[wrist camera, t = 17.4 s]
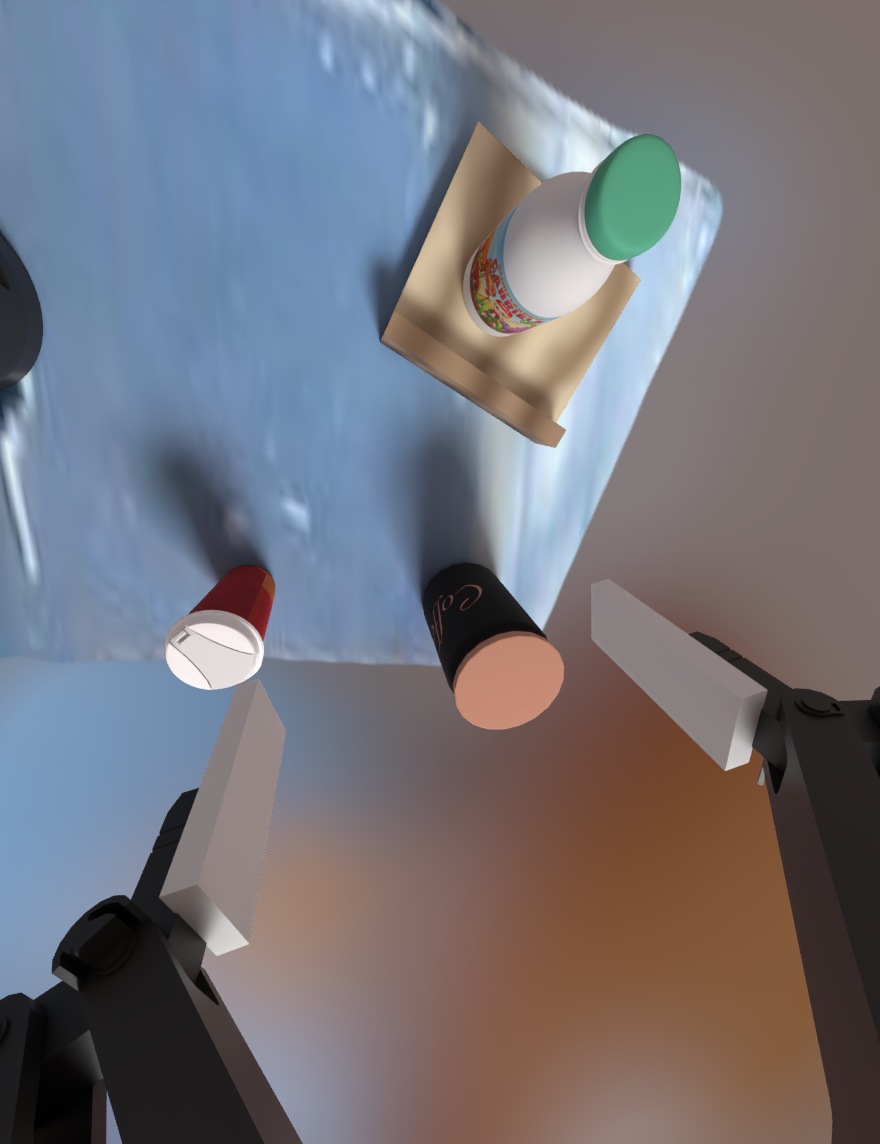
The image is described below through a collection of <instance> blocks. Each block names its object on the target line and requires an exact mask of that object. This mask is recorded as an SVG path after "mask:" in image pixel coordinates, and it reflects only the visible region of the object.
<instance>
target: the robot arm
mask: <svg viewBox="0 0 880 1144" xmlns="http://www.w3.org/2000/svg"><path fill="white" fill-rule="evenodd" d="M42 337H43V322H42V314H41V308H40V304H39V301H38V297H37V294H36V291H35V289H34V286H33V284H32V282H31V280H30V277H29V275H28V274H27V272H26V270H25V268H24V266H23V265H22V263H21V261H20V260H19V258H18V257H17V255H16V254H15V252H14V251H13V249H12V248H11V247H10V245H9V244H8V243H7V242H6V240H5V239H4V238H3V237H2V236H1V234H0V391H1V390H4V389H6V388H8V387H10V386H12V385H14V384H15V383H17V382H18V381H20V380H21V379H22V378H23V377H24V376H25V375H26V374H27V373H28V372H29V371H30V370H31V368H32V367H33V365H34V363H35V362H36V360H37V357H38V355H39V352H40V348H41V344H42ZM591 602H592V603H591V608H592V640H593V641H594V642H596V644H597V645H598V646H599V647H600V648H602V650H603V651H604V652H605V653H606V654H607V655H609V657H610V658H612V659H613V661H614V662H615V663H616V664H617V665H619V667H621V668H622V669H623V670H624V671H625V672H626V673H627V674H628V675H629V676H630V677H631V678H632V679H633V680H634V681H635V682H636V683H637V684H638V685H639V686H640V687H641V688H642V689H643V690H644V691H645V692H646V693H647V694H648V695H649V696H650V697H651V698H652V699H653V700H654V701H655V702H656V703H657V704H658V705H659V706H660V707H661V708H662V709H663V710H664V711H665V712H666V713H667V714H668V715H669V716H670V717H671V718H672V719H673V720H674V721H675V722H676V723H677V724H678V725H679V726H680V727H681V728H682V729H683V730H684V731H685V732H686V733H687V734H689V736H690V737H691V738H692V739H693V740H694V741H695V742H696V743H697V744H698V745H699V746H700V747H701V748H702V749H704V750H705V751H706V753H707V754H708V755H710V756H711V757H712V758H713V759H714V760H715V761H716V762H717V763H718V764H719V765H720V766H721V767H722V768H723V769H724V770H725V771H726V770H729V769H732V768H735V767H737V766H740V765H743V764H746V763H748V762H749V759H750V755H751V752H752V748H754V749H755V750H756V751H757V752H759V753H760V754H761V755H762V756H763V757H764V760H763V763H762V766H761V770H760V773H759V777H758V784H760V785H763V782H764V779H765V780H766V785H767V790H768V795H769V800H770V805H771V810H772V815H773V820H774V825H775V829H776V835H777V839H778V845H779V850H780V855H781V859H782V864H783V869H784V874H785V879H786V884H787V889H788V894H789V899H790V904H791V909H792V914H793V919H794V924H795V929H796V933H797V939H798V943H799V948H800V954H801V958H802V963H803V968H804V973H805V978H806V983H807V988H808V993H809V998H810V1003H811V1008H812V1013H813V1018H814V1022H815V1027H816V1032H817V1038H818V1043H819V1047H820V1053H821V1057H822V1063H823V1067H824V1072H825V1077H826V1082H827V1087H828V1092H829V1097H830V1103H831V1109H832V1121H833V1123H832V1144H880V687H878V688H877V689H875V691H874V694H873V696H872V698H871V700H858V701H837V700H835V699H834V698H832V697H830V696H828V695H826V694H823V693H821V692H817V691H813V690H810V689H797V688H796V689H792V688H790V687H789V686H787V685H785V684H784V683H782V682H781V681H779V680H778V679H776V678H775V677H773V676H772V675H770V674H769V673H767V672H766V671H764V670H763V669H761V668H760V667H758V666H757V665H755V664H753V663H752V662H750V661H749V660H747V659H746V658H743V657H742V656H741V655H740V654H738V653H737V652H735V651H734V650H730V648H729V647H728V646H726V645H725V644H723V643H722V642H720V641H719V640H717V639H715V638H713V637H710V636H708V635H705V634H702V633H700V632H694V633H691V634H687V633H685V632H684V631H682V630H681V629H679V628H678V627H677V626H675V625H674V624H672V623H671V622H669V621H668V620H667V619H665V618H664V617H662V616H661V615H659V614H658V613H657V612H655V611H654V610H652V609H651V608H649V607H648V606H647V605H645V604H644V603H642V602H641V601H639V600H638V599H637V598H635V597H634V596H632V595H631V594H629V593H628V592H627V591H625V590H624V589H622V588H621V587H619V586H618V585H616V584H615V583H614V582H612V581H611V580H609V579H607V580H604V581H600V582H596V583H593V584H591ZM285 735H286V731H285V729H284V727H283V725H282V723H281V721H280V719H279V717H278V715H277V713H276V711H275V709H274V707H273V705H272V703H271V701H270V700H269V698H268V695H267V694H266V692H265V690H264V688H263V686H262V684H261V682H260V680H259V679H256V680H252V681H249V682H245V683H242V684H238V685H237V687H236V689H235V692H234V695H233V697H232V700H231V703H230V706H229V708H228V711H227V714H226V716H225V719H224V722H223V725H222V727H221V730H220V733H219V736H218V738H217V741H216V744H215V746H214V749H213V752H212V755H211V757H210V760H209V763H208V766H207V768H206V771H205V774H204V776H203V779H202V782H201V785H200V787H199V788H197V789H194V790H191V791H187V792H184V793H182V794H181V796H180V797H179V798H178V800H177V801H176V802H175V804H174V805H173V806H172V808H171V809H170V810H169V812H168V813H167V816H166V818H165V820H164V823H163V825H162V828H161V830H160V835H159V836H158V837H157V839H156V842H155V844H154V846H153V852H152V853H150V856H149V858H148V861H147V863H146V866H145V868H144V870H143V873H142V875H141V878H140V880H139V882H138V884H137V887H136V889H135V892H134V894H133V896H132V898H131V900H130V899H129V898H128V897H126V896H125V895H118V896H112V897H110V898H108V899H105V900H103V901H101V902H99V903H98V904H97V905H95V906H94V907H92V908H91V909H90V910H88V911H87V912H86V913H85V914H84V915H83V916H82V917H81V918H80V919H79V920H78V921H77V922H76V923H75V924H74V925H73V926H72V927H71V928H70V930H69V931H68V933H67V934H66V935H65V937H64V938H63V940H62V941H61V942H60V944H59V947H58V949H57V951H56V953H55V956H54V958H53V961H52V974H54V975H55V976H57V977H58V978H60V979H61V980H63V981H61V982H60V983H58V984H57V985H55V986H54V987H53V988H51V989H49V990H48V991H46V992H45V993H43V994H42V995H40V996H39V997H38V998H36V999H34V1000H33V999H31V998H29V997H27V996H26V995H24V994H23V993H17V994H12V995H8V996H7V997H5V998H3V999H1V1000H0V1144H106V1100H107V1096H106V1095H107V1092H108V1096H109V1099H110V1103H111V1106H112V1109H113V1113H114V1116H115V1119H116V1123H117V1127H118V1130H119V1133H120V1137H121V1140H122V1144H303V1143H302V1141H301V1140H300V1138H299V1136H298V1134H297V1133H296V1131H295V1129H294V1127H293V1125H292V1124H291V1122H290V1120H289V1118H288V1116H287V1115H286V1113H285V1111H284V1109H283V1108H282V1106H281V1104H280V1102H279V1101H278V1099H277V1097H276V1095H275V1093H274V1091H273V1090H272V1088H271V1086H270V1085H269V1083H268V1081H267V1079H266V1077H265V1076H264V1074H263V1072H262V1070H261V1068H260V1067H259V1065H258V1063H257V1061H256V1059H255V1058H254V1056H253V1054H252V1052H251V1051H250V1049H249V1047H248V1045H247V1043H246V1042H245V1040H244V1038H243V1036H242V1035H241V1033H240V1031H239V1029H238V1027H237V1026H236V1024H235V1022H234V1020H233V1018H232V1017H231V1015H230V1013H229V1012H228V1010H227V1008H226V1006H225V1004H224V1002H223V1001H222V999H221V997H220V995H219V994H218V992H217V990H216V988H215V987H214V985H213V983H212V981H211V979H210V978H209V976H208V974H207V972H206V971H205V970H204V969H203V968H202V967H201V964H202V960H203V956H204V952H205V948H206V945H207V946H208V947H209V948H210V949H211V950H212V951H213V952H214V953H215V955H217V956H218V955H221V954H223V953H226V952H229V951H232V950H234V949H237V948H240V947H243V946H245V945H248V944H249V943H250V938H251V933H252V927H253V921H254V914H255V909H256V904H257V898H258V892H259V886H260V880H261V874H262V869H263V863H264V857H265V851H266V845H267V840H268V834H269V828H270V822H271V815H272V810H273V805H274V799H275V793H276V787H277V781H278V775H279V769H280V764H281V758H282V752H283V746H284V741H285Z"/></svg>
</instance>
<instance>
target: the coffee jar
mask: <svg viewBox="0 0 880 1144" xmlns="http://www.w3.org/2000/svg"><path fill="white" fill-rule="evenodd" d="M423 610H424V616H425V619H426V621H427V624H428V627H429V630H430V633H431V636H432V639H433V642H434V644H435V647H436V650H437V653H438V656H439V659H440V662H441V665H442V667H443V670H444V673H445V676H446V679H447V682H448V684H449V687H450V688H451V690H452V692H453V693H454V699H455V704H456V706H457V708H458V709H459V711H460V713H461V714H462V716H463V717H464V718H466V719H467V720H468V721H469V722H471V723H472V724H473V725H476V726H479V727H482V728H486V729H507V728H511V727H515V726H519V725H522V724H524V723H525V722H528V721H529V720H531V719H533V718H535V717H537V716H538V715H539V714H540V713H541V712H543V711H544V710H545V709H546V708H547V707H549V705H550V704H551V703H552V701H553V700H554V698H555V697H556V696H557V694H558V693H559V690H560V687H561V685H562V682H563V677H564V674H563V673H564V664H563V662H562V659H561V656H560V654H559V652H558V651H557V649H555V647H554V646H553V645H552V644H551V643H550V642H549V641H548V640H547V638H546V636H545V634H544V633H543V632H542V631H541V630H540V628H539V627H538V626H537V625H536V624H535V622H534V621H533V620H532V619H531V618H530V616H529V615H528V614H527V613H526V612H525V610H524V609H523V608H522V607H521V606H520V604H519V603H518V602H517V601H516V600H515V598H514V597H513V596H512V595H511V594H510V593H509V591H508V590H507V589H506V588H505V587H504V585H503V584H502V583H501V582H500V581H499V579H498V578H497V577H496V576H495V575H494V574H493V573H492V572H491V571H490V570H489V569H487V568H485V567H483V566H481V565H478V564H470V563H463V564H458V565H452V566H451V567H449V568H447V569H445V570H443V571H441V572H440V573H439V574H438V575H437V576H436V577H434V578H433V579H432V581H431V582H430V584H429V586H428V587H427V589H426V591H425V594H424V599H423Z"/></svg>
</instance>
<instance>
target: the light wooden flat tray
mask: <svg viewBox="0 0 880 1144" xmlns="http://www.w3.org/2000/svg"><path fill="white" fill-rule="evenodd" d="M541 184H542V182H541V181H540V180H538V179H537V178H536V177H535V176H534V175H533V174H532V173H531V172H530V171H529V170H528V169H527V168H526V167H525V166H524V165H523V164H522V163H521V162H520V161H519V160H518V159H517V158H516V157H515V156H514V155H513V154H512V153H511V152H510V151H509V150H508V149H507V148H506V147H505V146H504V145H503V144H502V143H501V142H500V141H499V140H498V139H496V138H495V137H494V136H493V135H492V134H491V133H490V132H489V131H488V130H487V129H486V128H485V127H484V126H483V125H482V124H481V123H480V122H479V121H478V124H477V126H476V128H475V130H474V132H473V134H472V137H471V139H470V141H469V143H468V146H467V148H466V150H465V152H464V155H463V157H462V159H461V161H460V164H459V166H458V168H457V170H456V173H455V175H454V177H453V179H452V182H451V184H450V186H449V188H448V191H447V193H446V195H445V197H444V199H443V202H442V204H441V206H440V208H439V211H438V213H437V215H436V217H435V220H434V222H433V224H432V226H431V229H430V231H429V233H428V235H427V238H426V240H425V242H424V244H423V247H422V249H421V251H420V253H419V256H418V258H417V260H416V262H415V265H414V267H413V269H412V271H411V273H410V276H409V278H408V280H407V282H406V285H405V287H404V289H403V291H402V294H401V296H400V298H399V300H398V303H397V305H396V307H395V309H394V312H393V314H392V316H391V318H390V321H389V323H388V325H387V327H386V330H385V332H384V334H383V336H382V339H381V341H380V342H381V343H382V344H384V345H385V346H387V347H388V348H390V349H392V350H393V351H395V352H396V353H398V354H399V355H401V356H402V357H404V358H405V359H407V360H408V361H410V362H411V363H413V364H415V365H416V366H418V367H419V368H421V369H422V370H424V371H425V372H427V373H428V374H430V375H431V376H433V377H434V378H436V379H438V380H439V381H441V382H442V383H444V384H445V385H447V386H448V387H450V388H451V389H453V390H454V391H456V392H458V393H459V394H461V395H462V396H464V397H465V398H467V399H468V400H470V401H471V402H473V403H474V404H476V405H477V406H479V407H481V408H482V409H484V410H485V411H487V412H488V413H490V414H491V415H493V416H494V417H496V418H497V419H499V420H500V421H502V422H504V423H505V424H507V425H508V426H510V427H511V428H513V429H514V430H516V431H517V432H519V433H520V434H522V435H523V436H525V437H527V438H528V439H530V440H531V441H533V442H534V443H537V444H541V445H546V446H550V447H554V448H556V446H557V444H558V443H559V441H560V439H561V438H562V436H563V435H564V433H565V431H566V430H565V429H564V428H563V427H561V426H560V425H558V424H557V423H556V422H557V420H558V419H559V417H560V415H561V414H562V412H563V410H564V409H565V407H566V405H567V403H568V402H569V400H570V398H571V397H572V395H573V393H574V392H575V390H576V388H577V387H578V385H579V383H580V382H581V380H582V378H583V377H584V375H585V373H586V372H587V370H588V368H589V367H590V365H591V363H592V361H593V360H594V358H595V356H596V355H597V353H598V351H599V350H600V348H601V346H602V345H603V343H604V341H605V340H606V338H607V336H608V335H609V333H610V331H611V330H612V328H613V326H614V324H615V323H616V321H617V319H618V318H619V316H620V314H621V313H622V311H623V309H624V308H625V306H626V304H627V303H628V301H629V299H630V298H631V296H632V294H633V293H634V291H635V289H636V287H637V286H638V284H639V282H640V281H641V279H640V278H639V277H638V276H637V275H636V274H635V273H634V272H633V271H632V270H631V269H630V268H629V267H628V266H627V265H626V264H625V263H620V264H615V266H614V268H613V270H612V272H611V273H610V275H609V277H608V278H607V280H606V281H605V283H604V284H603V285H602V286H601V288H600V289H599V290H598V291H597V292H596V293H595V295H593V296H592V297H591V298H590V299H589V300H588V301H587V302H586V303H584V304H583V305H581V306H580V307H578V308H577V309H575V310H574V311H572V312H570V313H568V314H566V315H563V316H561V317H559V318H557V319H554V320H552V321H549V322H546V323H544V324H541V325H539V326H536V327H533V328H530V329H528V330H525V331H522V332H519V333H516V334H513V335H509V336H504V337H497V336H492V335H489V334H487V333H485V332H483V331H482V330H481V329H480V328H478V327H477V326H476V324H475V323H474V322H473V321H472V319H471V317H470V316H469V314H468V312H467V309H466V306H465V302H464V297H463V280H464V274H465V271H466V267H467V265H468V263H469V260H470V259H471V257H472V255H473V254H474V253H475V251H476V250H477V249H478V247H479V246H480V245H481V244H482V243H483V242H484V241H485V239H486V238H487V237H488V236H489V235H490V234H491V233H492V232H493V231H494V229H495V228H496V227H497V226H498V225H499V224H500V223H501V222H502V221H503V220H504V219H505V218H506V216H507V215H508V214H509V213H510V212H511V211H512V210H513V209H514V208H515V207H516V206H517V205H518V204H519V203H520V202H521V201H522V200H523V199H524V198H525V197H526V196H527V195H528V194H529V193H530V192H532V191H533V190H534V189H535V188H536V187H538V186H539V185H541Z"/></svg>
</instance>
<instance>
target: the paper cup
mask: <svg viewBox="0 0 880 1144" xmlns="http://www.w3.org/2000/svg"><path fill="white" fill-rule="evenodd" d="M274 595H275V584H274V581H273V579H272V577H271V576H270V575H269V573H267V572H266V571H265V570H263V569H262V568H259V567H257V566H252V565H243V566H239V567H236V568H234V569H232V570H231V571H230V572H228V573H227V574H226V575H225V576H224V577H223V578H222V579H221V580H220V581H219V582H218V583H217V584H216V586H215V587H214V588H213V589H212V590H211V591H210V592H209V593H208V594H207V595H206V596H205V597H204V598H203V599H202V600H201V601H200V602H199V603H198V605H197V606H196V607H195V608H194V609H193V610H192V611H191V612H190V613H189V614H188V615H187V616H185V617H183V618H181V619H180V620H179V621H177V622H176V623H175V624H174V625H173V626H172V628H171V629H170V631H169V632H168V635H167V637H166V643H165V646H166V659H167V663H168V665H169V667H170V669H171V670H172V672H173V673H174V674H175V675H176V676H177V677H178V678H179V679H181V680H182V681H183V682H185V683H187V684H189V685H191V686H194V687H197V688H201V689H208V690H212V689H221V688H227V687H230V686H233V685H235V684H239V683H241V682H243V681H245V680H246V679H248V678H249V677H251V676H252V675H254V674H255V673H256V672H257V671H258V669H259V668H260V666H261V662H262V659H263V655H264V646H263V640H264V636H265V632H266V628H267V624H268V621H269V616H270V612H271V608H272V604H273V600H274Z"/></svg>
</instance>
